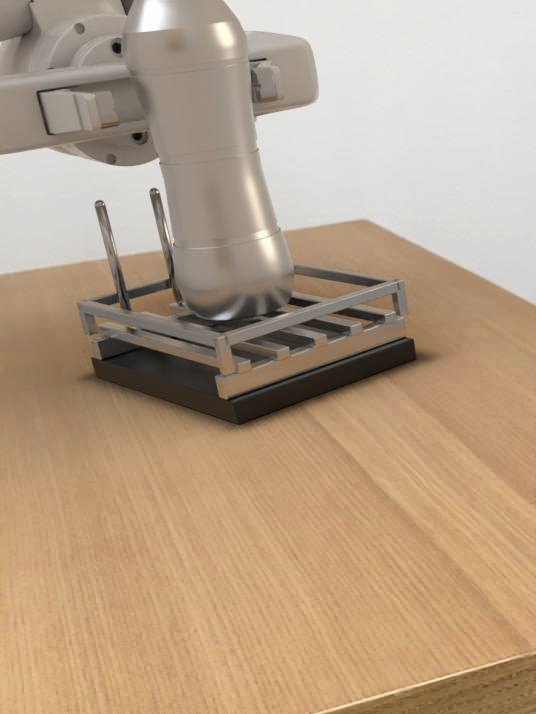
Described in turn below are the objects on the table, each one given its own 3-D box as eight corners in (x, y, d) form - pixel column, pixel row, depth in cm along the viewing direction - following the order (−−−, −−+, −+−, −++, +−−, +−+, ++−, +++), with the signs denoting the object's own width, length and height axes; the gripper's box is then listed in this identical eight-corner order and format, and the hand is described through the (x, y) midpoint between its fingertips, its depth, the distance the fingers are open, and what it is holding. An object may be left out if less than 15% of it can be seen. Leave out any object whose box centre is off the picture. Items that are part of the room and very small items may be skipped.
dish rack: (95, 376, 74) (49, 208, 69) (263, 323, 81) (231, 168, 77) (238, 424, 63) (194, 229, 59) (417, 358, 70) (390, 180, 66)
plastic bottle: (266, 333, 67) (183, -74, 58) (162, 333, 69) (67, -59, 61) (322, 300, 72) (252, -77, 64) (223, 302, 75) (144, -62, 66)
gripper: (-81, 59, 70) (-30, 61, 59) (253, 17, 80) (348, 12, 69) (-47, 172, 73) (8, 193, 62) (271, 118, 82) (366, 129, 72)
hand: (190, 97), depth 66 cm, fingers open, 8 cm apart
